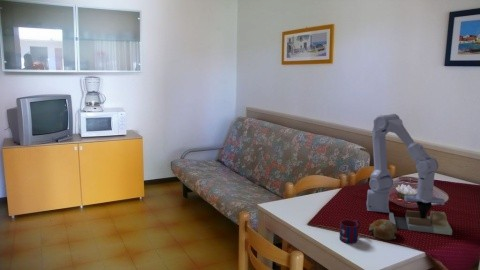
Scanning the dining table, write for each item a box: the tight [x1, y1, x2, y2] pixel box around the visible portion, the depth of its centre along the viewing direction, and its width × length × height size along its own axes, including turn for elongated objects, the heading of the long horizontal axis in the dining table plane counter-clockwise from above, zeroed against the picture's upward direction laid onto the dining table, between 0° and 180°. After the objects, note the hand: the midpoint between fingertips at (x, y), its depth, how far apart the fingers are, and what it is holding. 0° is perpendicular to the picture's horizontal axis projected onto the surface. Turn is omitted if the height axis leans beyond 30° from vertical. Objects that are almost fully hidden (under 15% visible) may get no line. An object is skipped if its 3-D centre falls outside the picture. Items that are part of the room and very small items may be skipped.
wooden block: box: [429, 210, 448, 226], centre depth 151 cm, size 5×5×4 cm
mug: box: [339, 219, 360, 245], centre depth 142 cm, size 7×10×7 cm
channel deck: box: [388, 209, 453, 236], centre depth 154 cm, size 22×12×4 cm, turn 73°
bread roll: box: [367, 218, 398, 241], centre depth 146 cm, size 10×10×8 cm
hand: (422, 219), depth 153 cm, fingers closed
